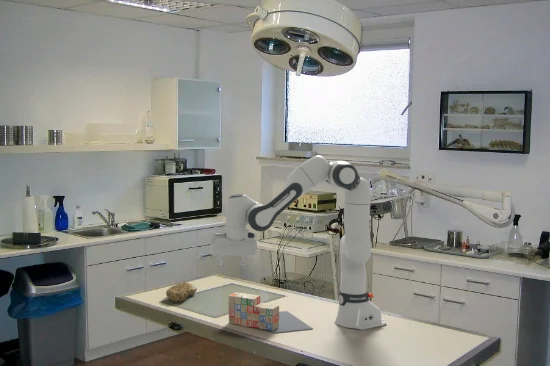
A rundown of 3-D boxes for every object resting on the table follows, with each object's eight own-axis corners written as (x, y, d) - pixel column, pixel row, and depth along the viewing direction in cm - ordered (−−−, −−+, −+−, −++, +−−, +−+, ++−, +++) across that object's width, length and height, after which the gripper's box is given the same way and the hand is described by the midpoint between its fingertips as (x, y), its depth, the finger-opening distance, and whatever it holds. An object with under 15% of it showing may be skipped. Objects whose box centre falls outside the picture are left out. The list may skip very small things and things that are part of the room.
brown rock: (180, 294, 314) (155, 295, 297) (184, 280, 314) (159, 279, 297) (200, 304, 308) (176, 304, 290) (205, 288, 308) (181, 288, 290)
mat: (286, 311, 286) (286, 310, 286) (312, 329, 263) (312, 328, 263) (250, 315, 279) (250, 314, 279) (273, 333, 255) (273, 332, 255)
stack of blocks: (279, 326, 262) (279, 298, 261) (272, 331, 257) (272, 302, 256) (235, 319, 272) (235, 291, 271) (228, 323, 267) (228, 295, 266)
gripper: (214, 234, 251) (212, 268, 253) (259, 234, 261) (257, 266, 262) (208, 231, 257) (206, 264, 258) (253, 231, 267) (250, 263, 268)
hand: (232, 265), depth 260 cm, fingers open, 8 cm apart
